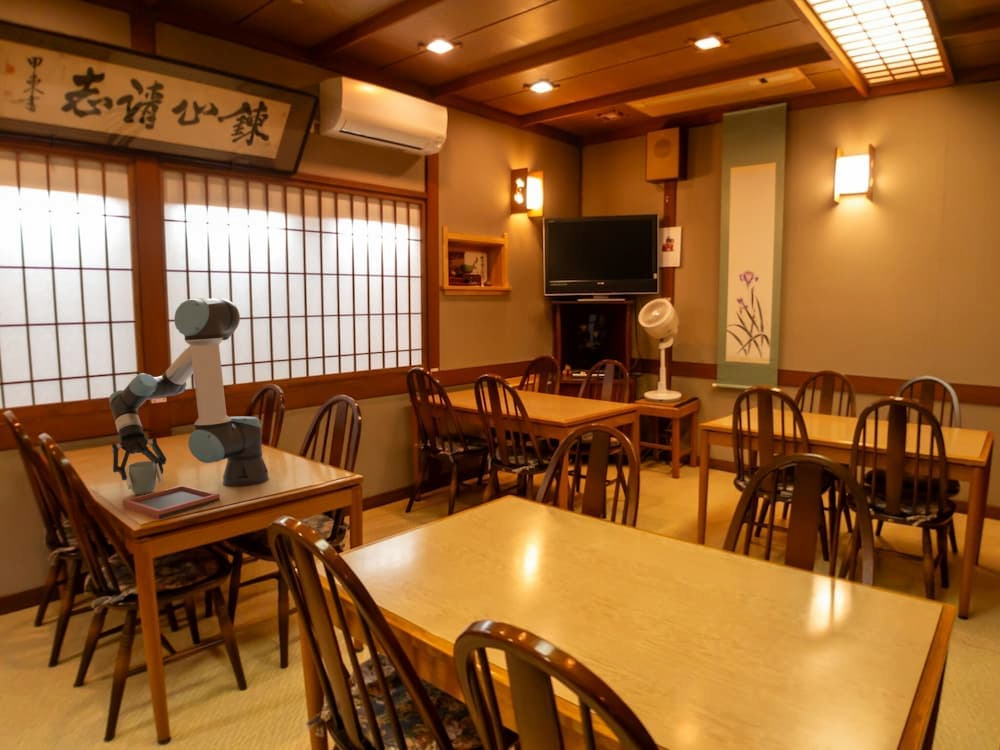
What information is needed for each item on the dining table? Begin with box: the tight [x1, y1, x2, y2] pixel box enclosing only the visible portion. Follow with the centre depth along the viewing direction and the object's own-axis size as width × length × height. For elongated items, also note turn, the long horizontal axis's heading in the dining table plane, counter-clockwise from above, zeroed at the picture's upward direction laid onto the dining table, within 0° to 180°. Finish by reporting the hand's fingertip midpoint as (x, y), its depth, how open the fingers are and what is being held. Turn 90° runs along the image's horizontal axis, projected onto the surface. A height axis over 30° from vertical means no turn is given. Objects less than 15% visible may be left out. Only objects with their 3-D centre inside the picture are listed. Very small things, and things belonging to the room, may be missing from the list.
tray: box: [122, 484, 221, 520], centre depth 210 cm, size 20×20×2 cm
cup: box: [128, 460, 157, 496], centre depth 222 cm, size 8×8×10 cm
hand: (145, 484), depth 220 cm, fingers open, 9 cm apart
